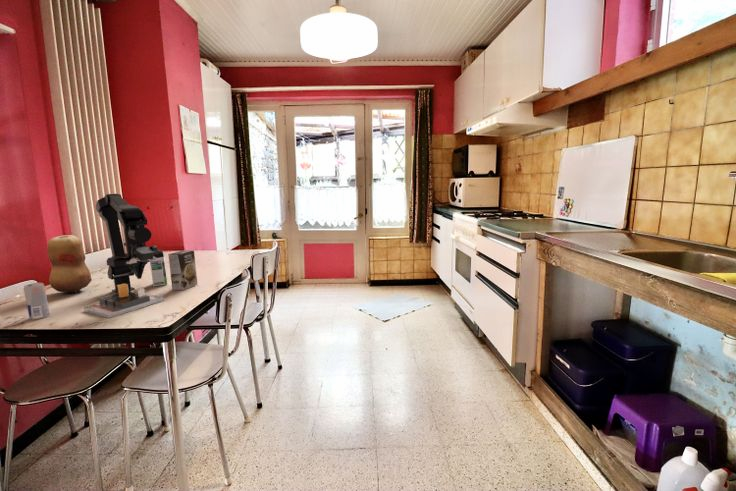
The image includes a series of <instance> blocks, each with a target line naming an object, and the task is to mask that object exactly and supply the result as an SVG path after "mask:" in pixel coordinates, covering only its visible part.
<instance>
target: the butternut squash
mask: <svg viewBox="0 0 736 491" xmlns="http://www.w3.org/2000/svg"><path fill="white" fill-rule="evenodd" d="M46 247H47V256H48V259H49V262H50V264H51V270H50V274H49V279H48V281H49V285H50V286H51V288H52V289H53V290H55V291H56V292H59V293H60V292H61V293H67V294H72V293H78V292H79V291H81V290H82V289H85V288H87V287H88V286H89V284H90V283H91V282H92V280H93V279H92V275H91V272H90V269H89V268H88V266H87V264H86V262H85V261H86V255H85V253H84V249H83V243H82V240H81V239H80V238H79V237H77V236H76V235H73V234H67V235H66V234H65V235H64V234H63V235H59V236H55V237H52V238H51V239H49V240H48V242H47V244H46Z"/></svg>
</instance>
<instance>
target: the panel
mask: <svg viewBox="0 0 736 491" xmlns="http://www.w3.org/2000/svg"><path fill="white" fill-rule="evenodd" d="M127 287H128V286H127ZM128 294H129V296H126V297H119V293H117V292H115V293H114V294H110V295H106V296H101V297H98V303H95V304H91V305H86V306H84V307H83V311H84V312H86V313H90V314H92V315H95V316H99V317H103V318H106V319H111V318H113V317H116V316H120V315H123V314H126V313H129V312H132V311H135V310H138V309H142V308H145V307H147V306H151V305H155V304H158V303H161V302H163V301H164V297H163V296H161V295H160V296H158V295H154V294H151V293H146V292H145V288H144V287H140V288H136V289H134V292H133V291H131V290H128Z"/></svg>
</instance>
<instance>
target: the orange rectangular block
mask: <svg viewBox="0 0 736 491" xmlns="http://www.w3.org/2000/svg"><path fill="white" fill-rule="evenodd" d="M127 286H128V284H120V285H117V287H118V293H119V297H126V296H129V294H128V287H127Z"/></svg>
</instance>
